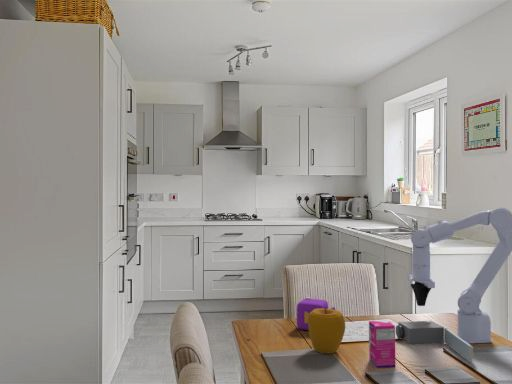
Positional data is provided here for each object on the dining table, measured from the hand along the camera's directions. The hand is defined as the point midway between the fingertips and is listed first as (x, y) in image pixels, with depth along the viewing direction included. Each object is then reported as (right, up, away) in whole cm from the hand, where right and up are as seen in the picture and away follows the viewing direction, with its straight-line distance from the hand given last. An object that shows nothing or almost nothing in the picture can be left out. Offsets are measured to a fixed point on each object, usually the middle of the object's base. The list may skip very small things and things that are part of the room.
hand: (421, 305), depth 163 cm
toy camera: (-34, -10, +6) cm, 36 cm away
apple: (-35, -10, -18) cm, 40 cm away
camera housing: (-3, -9, -7) cm, 12 cm away
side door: (+4, -9, -20) cm, 22 cm away
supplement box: (-21, -10, -29) cm, 37 cm away
